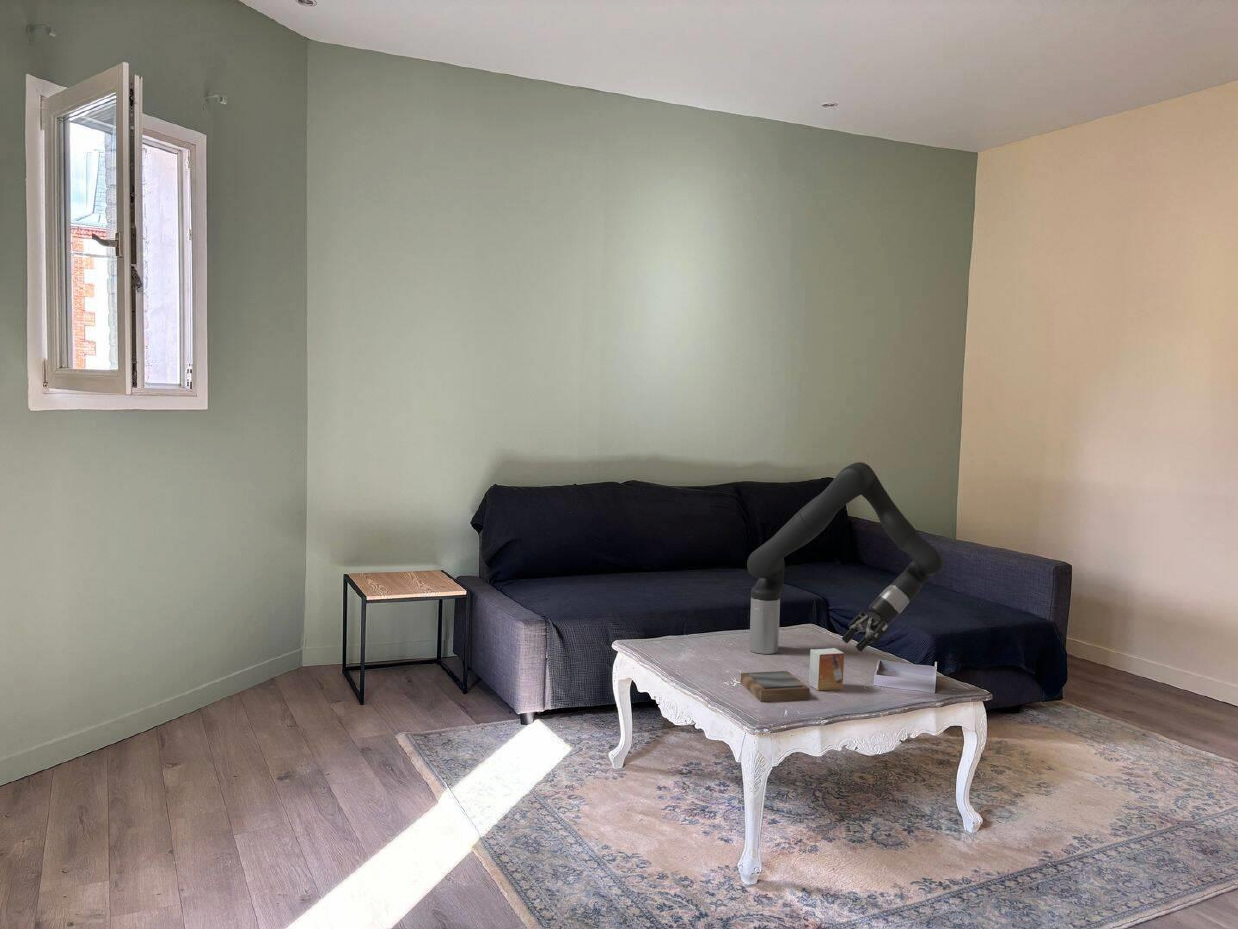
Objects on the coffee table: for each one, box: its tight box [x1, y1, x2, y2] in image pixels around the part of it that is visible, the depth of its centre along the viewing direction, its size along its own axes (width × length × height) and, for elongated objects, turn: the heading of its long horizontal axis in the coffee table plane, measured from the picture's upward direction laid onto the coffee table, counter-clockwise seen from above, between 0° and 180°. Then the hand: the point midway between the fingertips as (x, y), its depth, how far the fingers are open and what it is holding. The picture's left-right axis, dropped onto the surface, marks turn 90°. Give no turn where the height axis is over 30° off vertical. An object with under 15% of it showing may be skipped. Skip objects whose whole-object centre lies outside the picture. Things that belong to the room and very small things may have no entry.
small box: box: [808, 647, 845, 691], centre depth 267 cm, size 8×6×10 cm
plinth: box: [740, 670, 811, 703], centre depth 263 cm, size 16×14×3 cm
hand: (850, 645), depth 268 cm, fingers open, 8 cm apart
